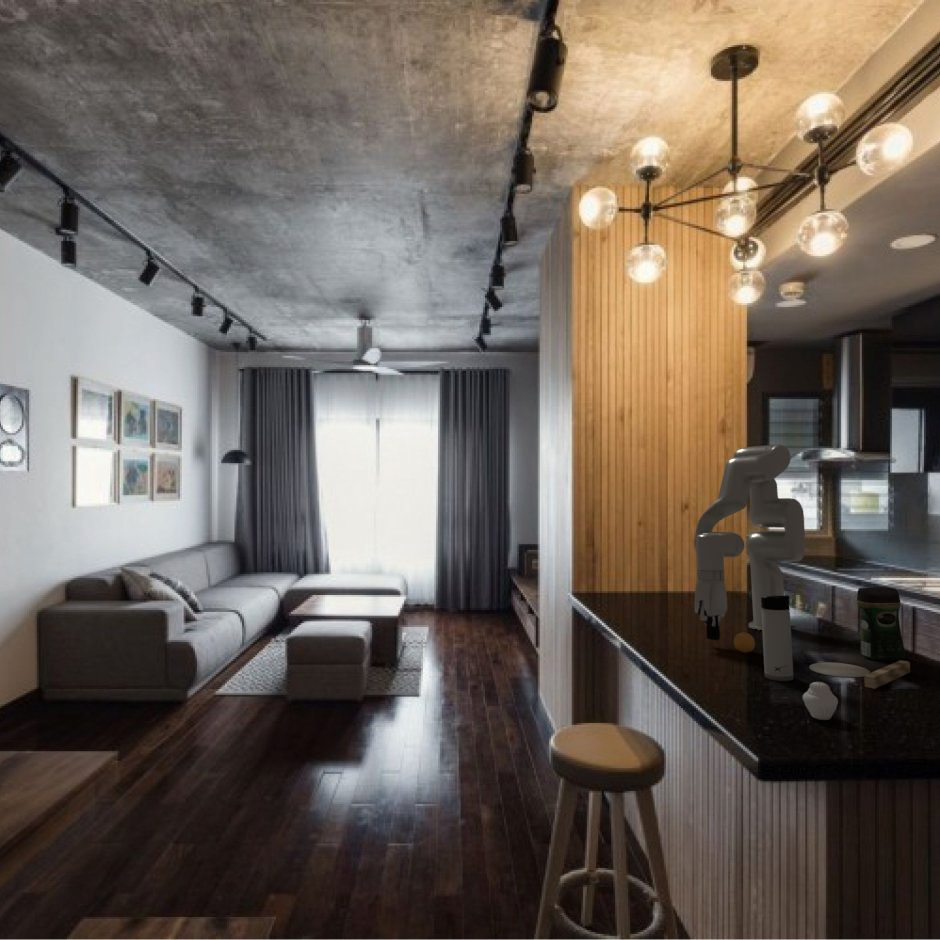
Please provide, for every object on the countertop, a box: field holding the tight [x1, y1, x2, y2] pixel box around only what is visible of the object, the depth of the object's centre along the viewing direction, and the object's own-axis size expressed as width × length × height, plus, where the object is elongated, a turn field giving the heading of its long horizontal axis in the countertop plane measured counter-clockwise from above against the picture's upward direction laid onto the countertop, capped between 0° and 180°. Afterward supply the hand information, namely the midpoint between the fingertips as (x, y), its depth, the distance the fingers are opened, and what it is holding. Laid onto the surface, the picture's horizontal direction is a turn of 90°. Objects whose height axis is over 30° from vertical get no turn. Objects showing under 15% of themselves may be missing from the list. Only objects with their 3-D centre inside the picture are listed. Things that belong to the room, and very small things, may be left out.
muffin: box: [802, 681, 839, 721], centre depth 126 cm, size 6×6×7 cm
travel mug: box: [761, 594, 794, 682], centre depth 153 cm, size 6×7×20 cm
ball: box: [733, 631, 756, 654], centre depth 178 cm, size 6×6×6 cm
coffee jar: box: [856, 586, 906, 662], centre depth 168 cm, size 10×8×19 cm
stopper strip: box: [863, 660, 911, 689], centre depth 149 cm, size 20×2×2 cm, turn 126°
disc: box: [808, 661, 871, 678], centre depth 158 cm, size 13×13×1 cm
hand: (713, 639), depth 186 cm, fingers closed
